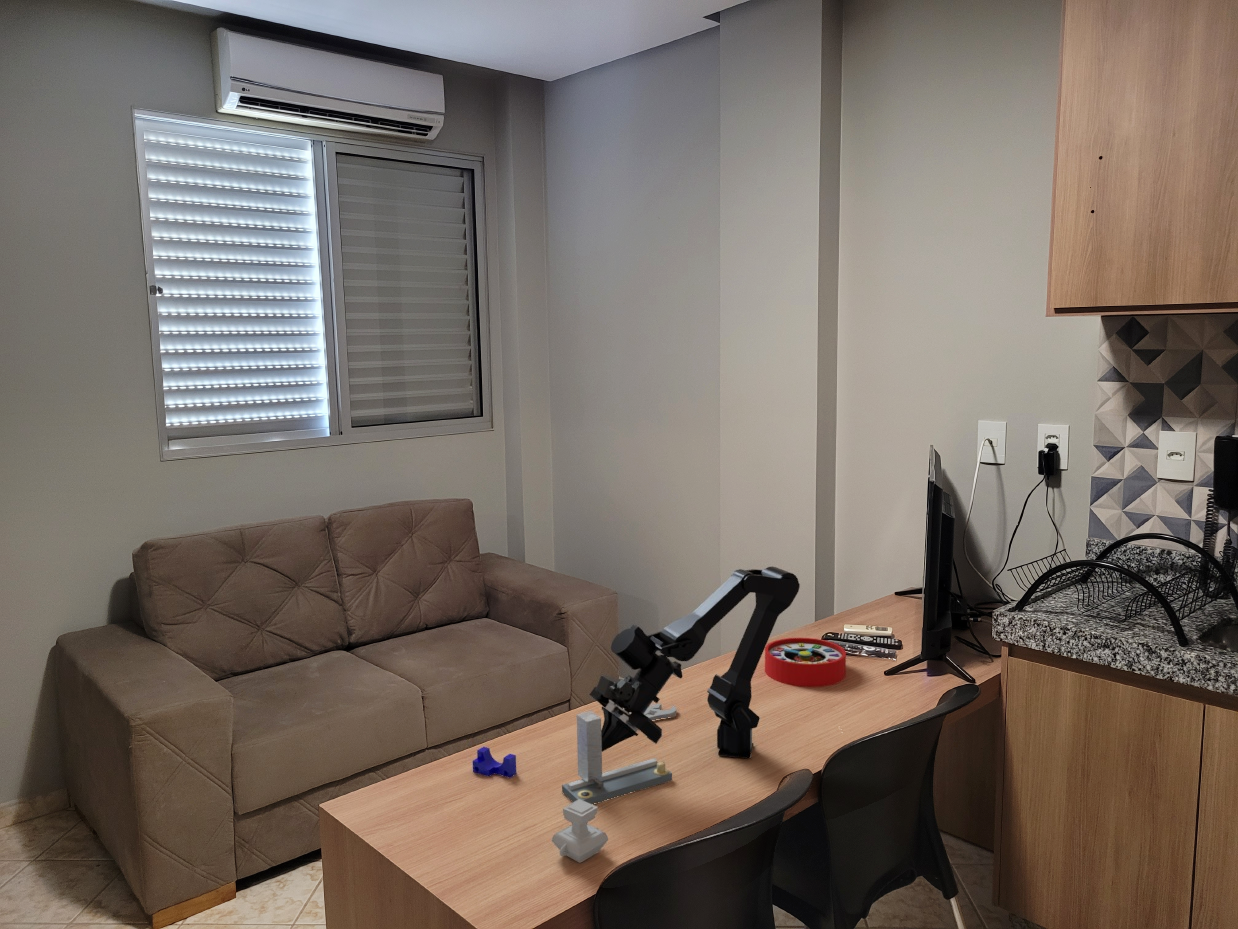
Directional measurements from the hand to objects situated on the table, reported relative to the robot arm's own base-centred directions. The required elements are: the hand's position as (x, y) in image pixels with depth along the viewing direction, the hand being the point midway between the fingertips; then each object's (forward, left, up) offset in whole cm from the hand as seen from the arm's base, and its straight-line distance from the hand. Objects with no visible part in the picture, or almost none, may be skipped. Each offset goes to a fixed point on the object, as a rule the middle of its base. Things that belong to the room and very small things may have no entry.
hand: (597, 750), depth 168 cm
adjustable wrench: (+1, -28, -8) cm, 29 cm away
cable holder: (+22, -1, -8) cm, 23 cm away
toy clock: (-34, -69, -8) cm, 77 cm away
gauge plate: (-3, -1, -7) cm, 8 cm away
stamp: (-3, +22, -8) cm, 23 cm away
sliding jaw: (0, +2, -5) cm, 6 cm away
